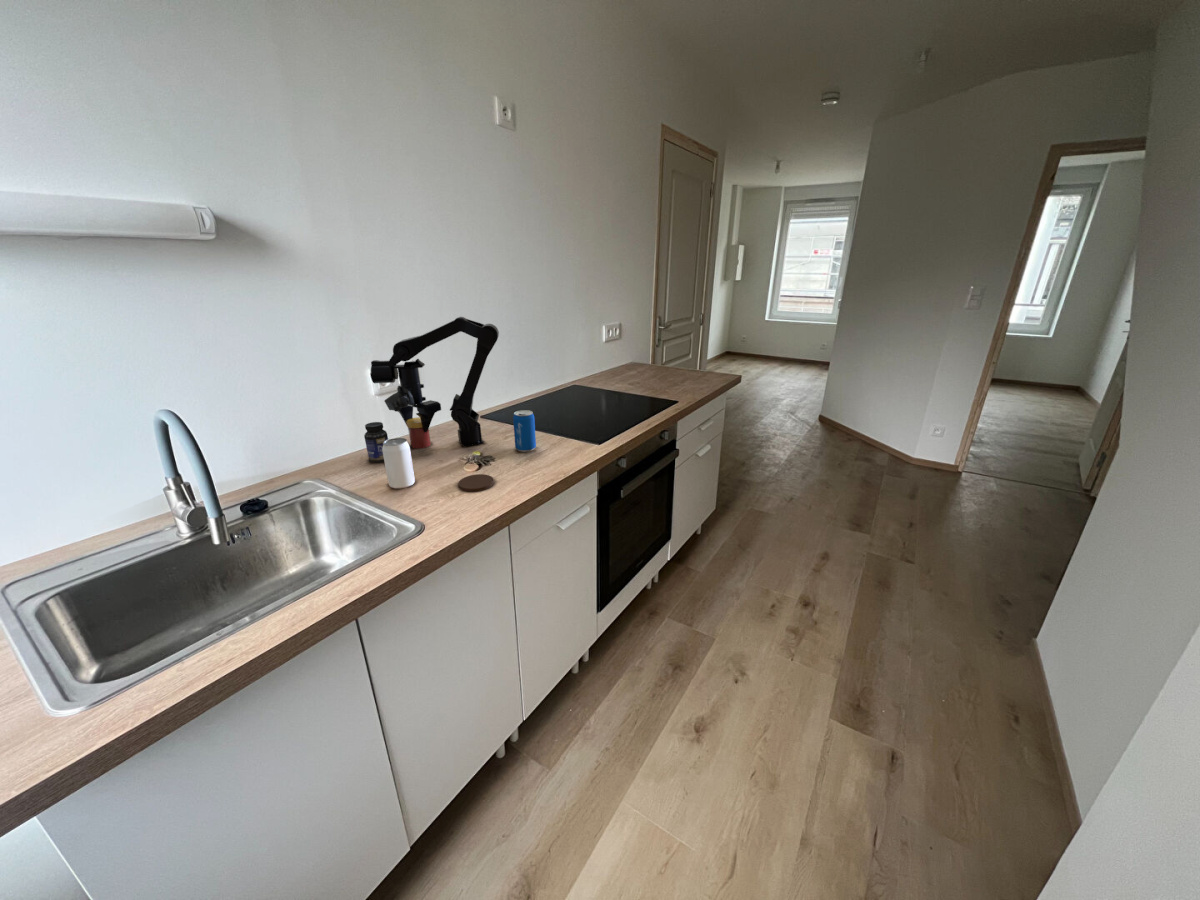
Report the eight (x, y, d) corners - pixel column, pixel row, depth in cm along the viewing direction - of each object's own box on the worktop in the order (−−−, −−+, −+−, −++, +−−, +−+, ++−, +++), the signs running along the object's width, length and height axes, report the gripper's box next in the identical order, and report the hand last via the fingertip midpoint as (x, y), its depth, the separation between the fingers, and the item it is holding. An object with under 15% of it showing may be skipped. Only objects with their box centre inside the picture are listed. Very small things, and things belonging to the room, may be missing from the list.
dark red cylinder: (428, 440, 150) (425, 418, 147) (432, 446, 145) (429, 423, 142) (409, 444, 147) (405, 421, 144) (413, 450, 142) (409, 426, 140)
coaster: (487, 474, 125) (487, 471, 125) (498, 486, 118) (498, 483, 118) (454, 481, 121) (454, 478, 120) (464, 494, 114) (463, 491, 113)
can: (389, 491, 115) (380, 447, 111) (389, 481, 121) (381, 439, 117) (416, 486, 118) (408, 443, 113) (414, 477, 123) (408, 435, 119)
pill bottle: (382, 463, 132) (376, 428, 128) (364, 462, 133) (357, 426, 129) (395, 456, 138) (389, 421, 134) (378, 454, 139) (371, 420, 135)
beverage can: (511, 451, 141) (508, 414, 137) (522, 444, 147) (519, 408, 142) (529, 454, 139) (527, 416, 135) (539, 447, 145) (537, 411, 140)
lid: (405, 423, 145) (404, 419, 144) (426, 420, 148) (425, 416, 147) (408, 429, 140) (408, 424, 139) (430, 426, 143) (429, 421, 142)
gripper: (367, 383, 137) (376, 432, 142) (407, 391, 128) (415, 442, 133) (399, 376, 146) (407, 422, 151) (439, 383, 137) (445, 432, 142)
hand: (417, 430), depth 144 cm, fingers open, 7 cm apart
